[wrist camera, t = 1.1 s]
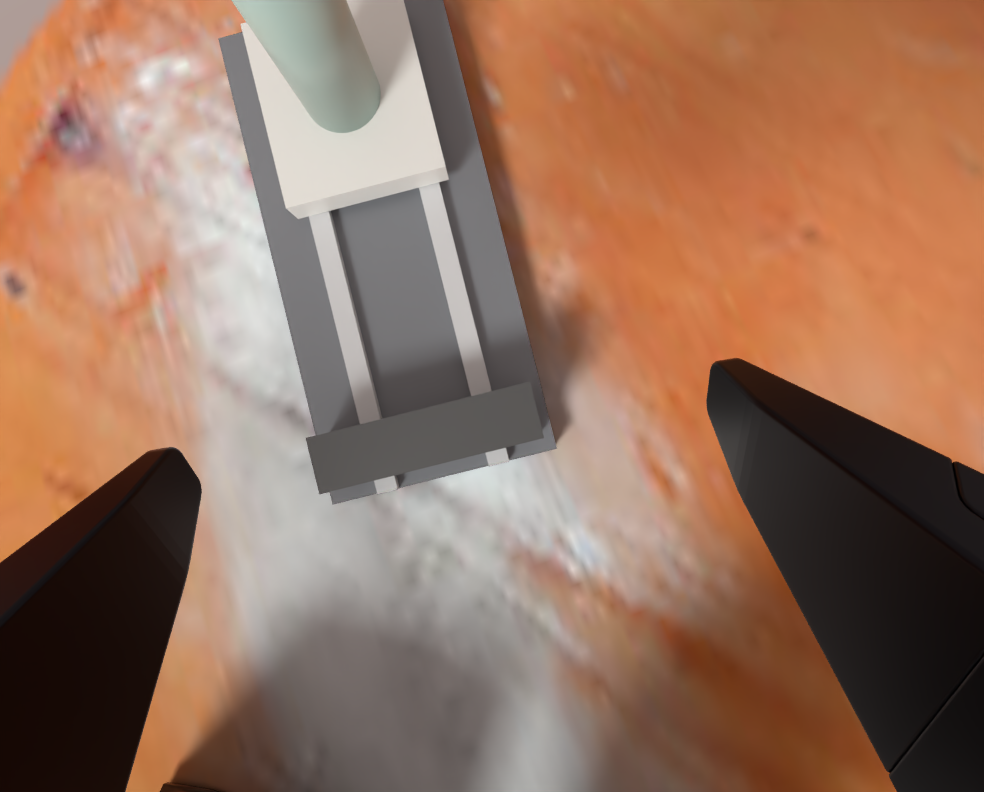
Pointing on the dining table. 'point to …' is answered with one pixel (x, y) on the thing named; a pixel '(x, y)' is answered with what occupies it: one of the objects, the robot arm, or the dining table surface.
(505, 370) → the rail track
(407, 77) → the carriage
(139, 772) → the dining table surface
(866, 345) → the dining table surface
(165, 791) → the manual coffee grinder
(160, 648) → the robot arm
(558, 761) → the dining table surface
